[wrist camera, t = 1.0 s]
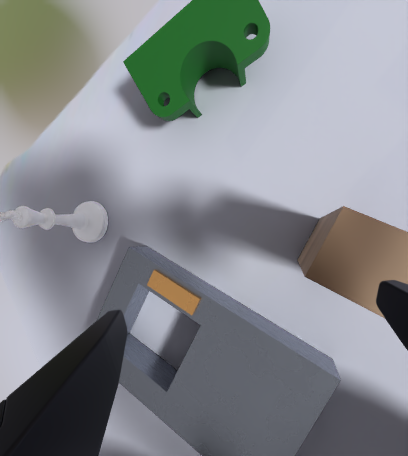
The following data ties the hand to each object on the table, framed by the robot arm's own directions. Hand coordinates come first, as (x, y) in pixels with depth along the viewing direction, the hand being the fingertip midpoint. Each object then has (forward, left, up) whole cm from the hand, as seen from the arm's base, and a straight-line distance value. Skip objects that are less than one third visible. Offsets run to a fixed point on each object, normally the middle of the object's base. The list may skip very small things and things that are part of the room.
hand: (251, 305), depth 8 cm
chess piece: (+20, +6, -14) cm, 25 cm away
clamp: (+13, -13, -14) cm, 24 cm away
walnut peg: (-4, -3, -14) cm, 15 cm away
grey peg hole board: (+2, +11, -14) cm, 18 cm away
